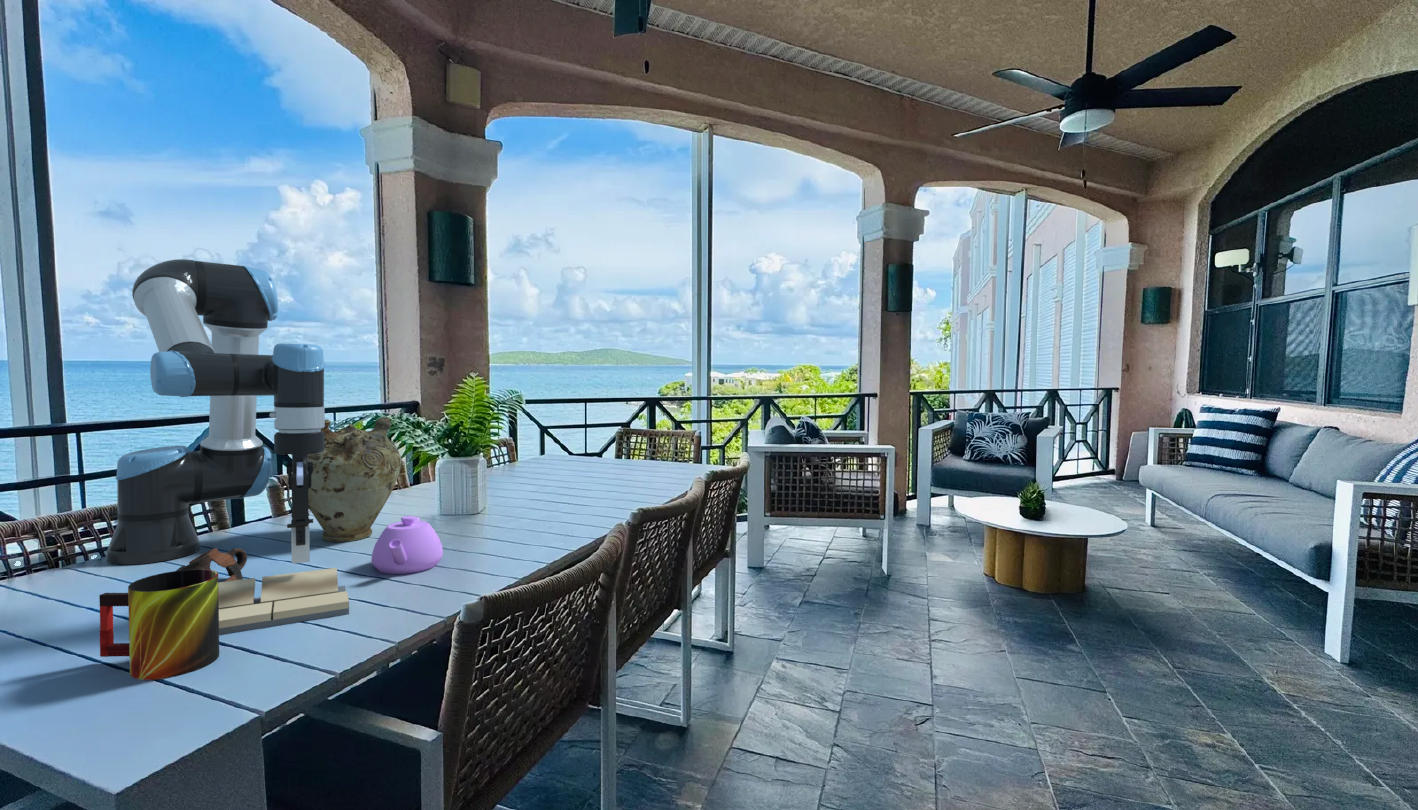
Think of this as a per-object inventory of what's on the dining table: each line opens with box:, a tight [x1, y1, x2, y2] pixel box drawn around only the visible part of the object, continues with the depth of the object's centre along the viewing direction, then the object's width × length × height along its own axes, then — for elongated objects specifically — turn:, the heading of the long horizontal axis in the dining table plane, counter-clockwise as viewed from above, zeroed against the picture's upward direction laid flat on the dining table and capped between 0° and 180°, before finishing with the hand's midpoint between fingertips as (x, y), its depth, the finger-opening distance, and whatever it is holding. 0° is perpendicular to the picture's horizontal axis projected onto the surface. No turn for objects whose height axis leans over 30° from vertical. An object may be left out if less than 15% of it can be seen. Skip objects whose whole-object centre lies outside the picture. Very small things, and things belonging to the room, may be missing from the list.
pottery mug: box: [175, 547, 248, 582], centre depth 120 cm, size 12×10×8 cm
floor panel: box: [219, 585, 350, 636], centre depth 106 cm, size 13×26×2 cm, turn 123°
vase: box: [307, 416, 402, 543], centre depth 155 cm, size 23×23×30 cm
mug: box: [99, 569, 220, 681], centre depth 87 cm, size 10×14×12 cm
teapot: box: [371, 515, 444, 575], centre depth 134 cm, size 14×20×11 cm
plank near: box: [218, 577, 256, 609], centre depth 105 cm, size 6×11×1 cm, turn 122°
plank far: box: [260, 567, 339, 606], centre depth 112 cm, size 6×11×1 cm, turn 122°
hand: (300, 561), depth 113 cm, fingers closed
